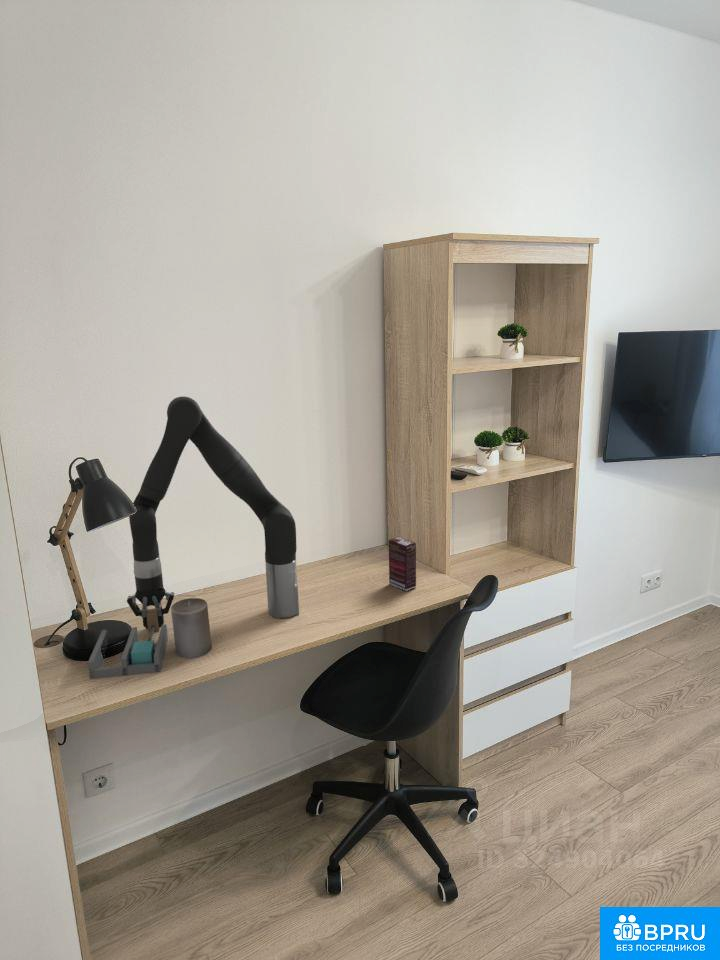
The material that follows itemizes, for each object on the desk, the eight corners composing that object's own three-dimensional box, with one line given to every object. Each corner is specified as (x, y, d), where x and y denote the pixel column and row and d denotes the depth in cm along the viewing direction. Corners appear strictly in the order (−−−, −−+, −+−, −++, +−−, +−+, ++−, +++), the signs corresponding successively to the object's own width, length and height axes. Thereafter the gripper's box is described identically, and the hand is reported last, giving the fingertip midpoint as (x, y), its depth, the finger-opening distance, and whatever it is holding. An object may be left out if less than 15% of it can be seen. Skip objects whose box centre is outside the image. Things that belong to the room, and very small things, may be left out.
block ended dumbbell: (163, 626, 205) (161, 607, 204) (152, 668, 182) (150, 647, 180) (146, 627, 205) (144, 609, 203) (132, 670, 181) (130, 649, 180)
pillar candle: (200, 638, 198) (195, 590, 194) (218, 650, 191) (213, 600, 187) (169, 650, 192) (163, 601, 188) (186, 663, 185) (180, 612, 181)
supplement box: (416, 588, 229) (416, 542, 225) (406, 592, 226) (406, 546, 222) (398, 580, 236) (398, 536, 231) (388, 584, 233) (387, 539, 228)
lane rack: (168, 640, 197) (166, 624, 196) (160, 673, 180) (158, 655, 179) (104, 646, 195) (102, 629, 194) (90, 679, 178) (87, 662, 177)
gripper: (174, 565, 204) (179, 619, 208) (125, 569, 202) (131, 623, 206) (171, 575, 196) (177, 630, 201) (120, 579, 194) (127, 635, 199)
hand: (153, 626), depth 203 cm, fingers closed on block ended dumbbell, 3 cm apart
